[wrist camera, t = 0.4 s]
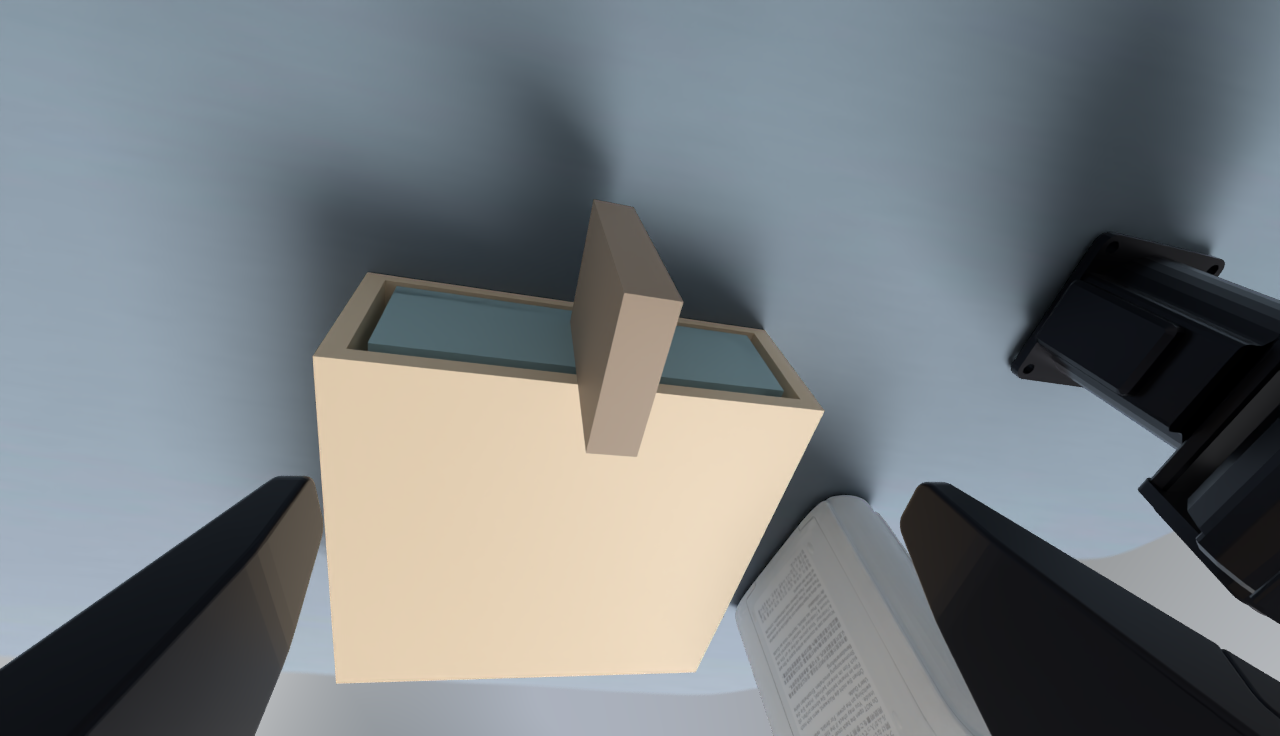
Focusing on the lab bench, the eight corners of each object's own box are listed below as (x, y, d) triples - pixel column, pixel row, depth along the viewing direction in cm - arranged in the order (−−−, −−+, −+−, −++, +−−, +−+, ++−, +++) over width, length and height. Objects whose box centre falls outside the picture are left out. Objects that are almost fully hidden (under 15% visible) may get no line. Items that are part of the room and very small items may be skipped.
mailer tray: (786, 230, 18) (912, 337, 12) (654, 582, 27) (688, 745, 21) (399, 153, 15) (308, 244, 9) (392, 578, 24) (344, 769, 18)
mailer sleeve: (764, 330, 21) (824, 411, 17) (667, 578, 28) (691, 680, 24) (367, 271, 17) (312, 355, 13) (371, 573, 25) (336, 692, 20)
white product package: (783, 622, 32) (900, 905, 22) (720, 615, 31) (814, 914, 21) (886, 499, 28) (1095, 783, 17) (818, 483, 26) (1002, 782, 16)
